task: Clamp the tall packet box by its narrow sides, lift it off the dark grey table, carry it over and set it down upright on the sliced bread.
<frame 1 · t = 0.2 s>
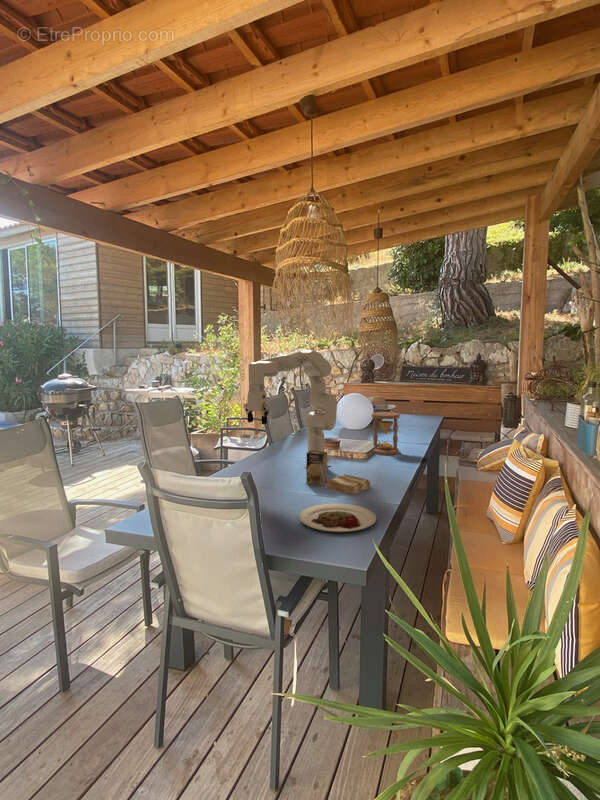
hand: (257, 423, 231), 31 cm above the table, tool pointing down, fingers open, 9 cm apart
hourglass: (385, 452, 305), on the table
coffee box: (316, 484, 236), on the table
plated food: (337, 521, 186), on the table
sliced bread: (348, 488, 228), on the table
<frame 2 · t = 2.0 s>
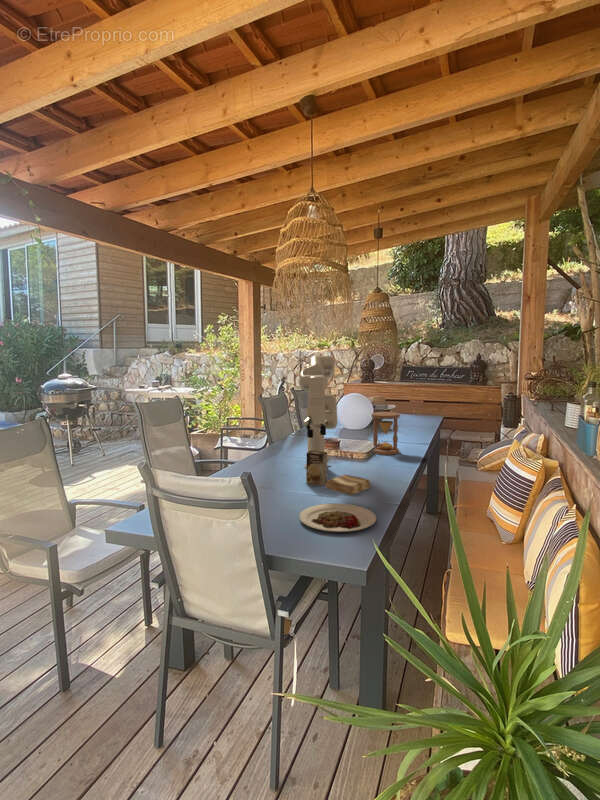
hand: (316, 436, 233), 24 cm above the table, tool pointing down, fingers open, 9 cm apart
nothing on the table moved.
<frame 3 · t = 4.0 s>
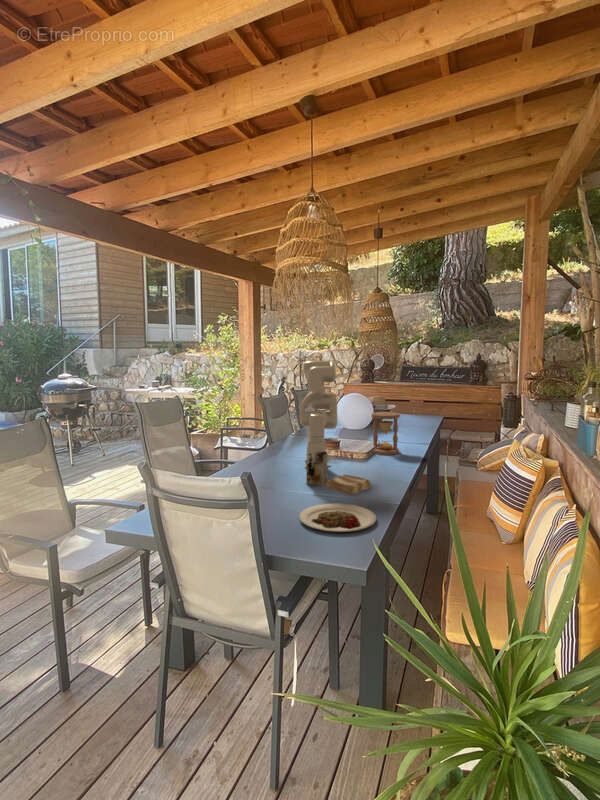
hand: (316, 473, 235), 5 cm above the table, tool pointing down, fingers closed on coffee box, 7 cm apart
coffee box: (316, 484, 236), on the table, touching gripper
everything else where it was.
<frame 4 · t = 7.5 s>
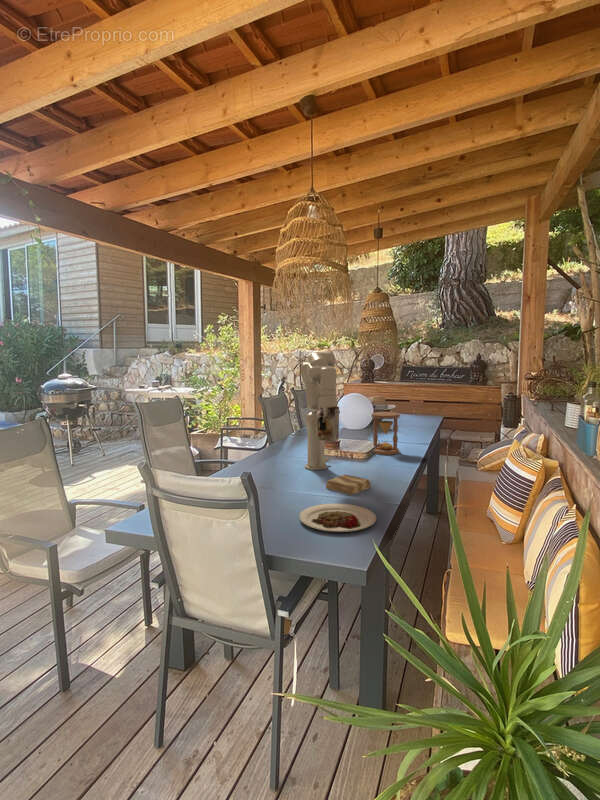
hand: (328, 429, 229), 28 cm above the table, tool pointing down, fingers closed on coffee box, 7 cm apart
coffee box: (328, 440, 230), point 23 cm above the table, touching gripper
everything else where it was.
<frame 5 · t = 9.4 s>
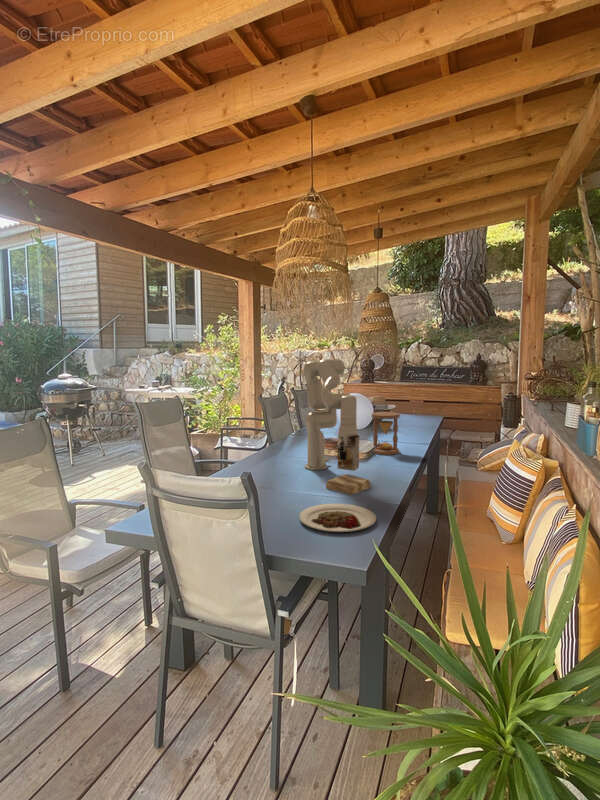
hand: (348, 457, 227), 15 cm above the table, tool pointing down, fingers closed on coffee box, 7 cm apart
coffee box: (348, 468, 227), point 9 cm above the table, touching gripper
everything else where it was.
when the fingers open (10 cm above the table, at t = 11.0 s): coffee box drops 1 cm, resting on sliced bread.
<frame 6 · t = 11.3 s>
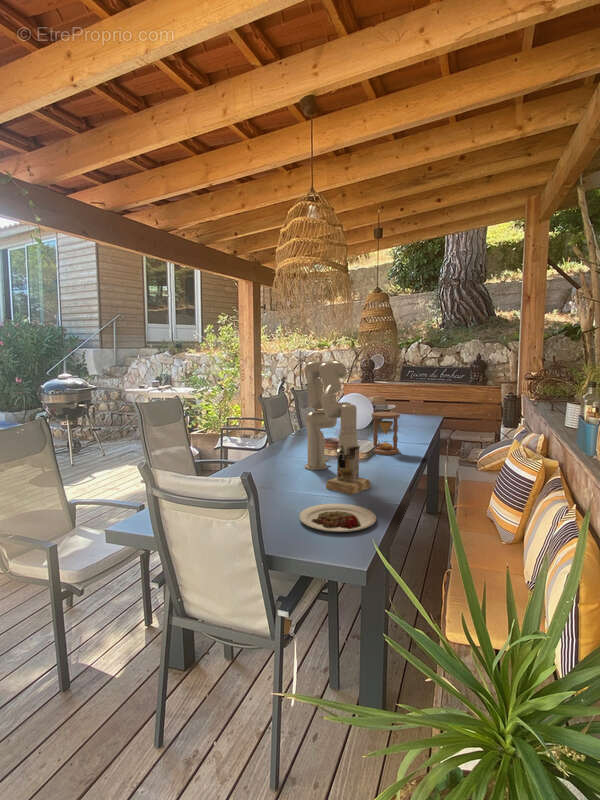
hand: (348, 465, 227), 11 cm above the table, tool pointing down, fingers open, 9 cm apart
coffee box: (348, 480, 228), point 4 cm above the table, touching sliced bread
everything else where it was.
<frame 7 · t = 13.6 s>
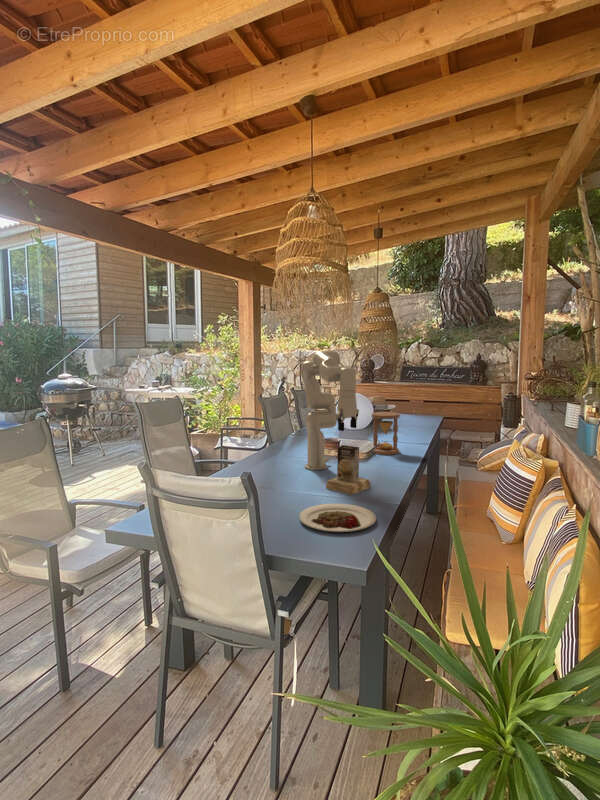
hand: (347, 429, 227), 28 cm above the table, tool pointing down, fingers open, 9 cm apart
nothing on the table moved.
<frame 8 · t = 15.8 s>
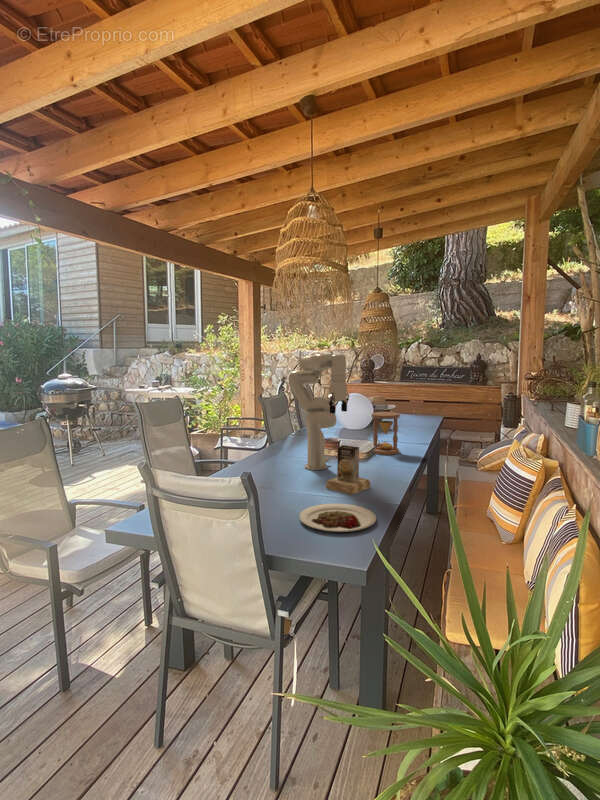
hand: (338, 412, 243), 34 cm above the table, tool pointing down, fingers open, 9 cm apart
nothing on the table moved.
at the end: coffee box inside the target area on the sliced bread (0.2 cm from its centre), point 3.8 cm above the sliced bread's base; coffee box tilted 0°; the gripper is holding nothing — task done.
